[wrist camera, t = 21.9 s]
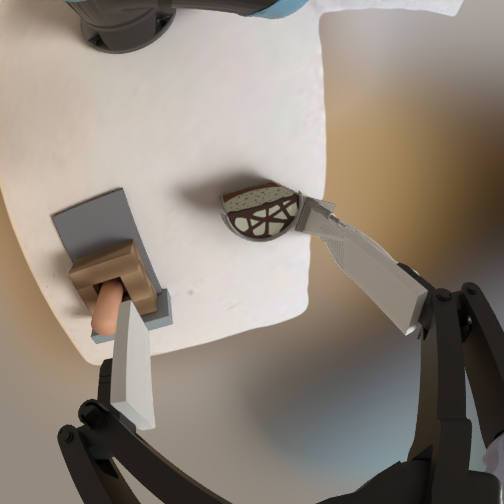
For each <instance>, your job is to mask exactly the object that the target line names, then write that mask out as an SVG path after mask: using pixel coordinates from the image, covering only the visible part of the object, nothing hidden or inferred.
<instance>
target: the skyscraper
mask: <svg viewBox="0 0 504 504" xmlns="http://www.w3.org/2000/svg"><path fill="white" fill-rule="evenodd" d="M335 206H336V205H335V204H333V203H330V202H326V201H323V200H318V199H314V198H311V197H307V198H306V201H305V204H304V207H303V210H302V213H301V216H300V218H299V221H298V224H297V227H296V231H302V232H307V233H312V234H314V235H316V236H318V237H319V238H320V239H322V240H323V241H324V242H325V244H326V246H327V248H328V250H329V252H330V254H331V256H332V258H333V260H334V261H335V263H336V264H337V265H338V267H339V268H340V269H341V270H342V271H343V264H344V235H345V234H348V233H352V232H355V233H356V234H358V235H359V236H360V237H362V238H363V239H364V240H366V241H367V242H368V243H370V244H371V245H372V246H374V247H375V248H376V249H377V250H379V251H380V252H381V253H383V254H384V255H385V256H386V257H388V258H389V259H390V260H392V261H393V262H394V263H395V264H397V263H399V262H397V261H395V260H393V258H392V257H391V256H390V255H389V254H388V253H387V252H386V251H385V250H384V249H383V248H382V247H381V246H380V245H379V244H377V243H376V242H375V241H374V240H372V239H371V238H370V237H368V236H367V235H365V234H364V233H363V232H361V231H359V230H358V229H356V228H355V227H353V226H351V225H349V224H347V223H345V222H343V221H341V220H339V219H337V218H336V217H335V214H334V213H333V211H334V209H335ZM412 270H413V269H412ZM413 271H414V272H416V273H417V271H415V270H413ZM343 272H344V271H343ZM344 273H345V272H344ZM345 274H346V273H345ZM417 274H418V273H417ZM346 275H347V274H346ZM418 275H419V274H418ZM347 276H348V275H347Z"/></svg>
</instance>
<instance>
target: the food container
mask: <svg viewBox="0 0 504 504" xmlns="http://www.w3.org/2000/svg"><path fill="white" fill-rule="evenodd" d="M221 199H222V203H223V207H224V210H225V214H226V215H224V214H222V213H220V214H221V216H222V219H223V221H224V223H225V224H226V226H227V227H228V228H229V229H230V230H231V231H232V232H233V233H235V234H236V235H238V236H239V237H241V238H243V239H245V240H248V241H253V242H267V241H271V240H274V239H276V238H278V237H280V236H282V235H283V234H285V233H286V232H287V231H288V230H290V229H291V228H292V226H293V225H294V224H295V222H296V221H297V219H298V217H299V215H300V212H301V208H302V202H303V198H302V193H301V192H300V191H299V193H297V192H295V191H293V190H291V189H289V188H287V187H285V186H282V185H280V184H278V183H276V182H274V181H268V182H264V183H261V184H257V185H253V186H249V187H246V188H242V189H238V190H235V191H231V192H228V193H224V194H221Z"/></svg>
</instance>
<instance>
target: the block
mask: <svg viewBox="0 0 504 504" xmlns="http://www.w3.org/2000/svg"><path fill="white" fill-rule="evenodd" d="M68 275H69V277H70V279H71V280H72V282H73V284H74V286H75V288H76V289H77V291H78V293H79V294H80V296H81V298H82V299H83V301H84V303H85V304H86V306H87V308H88V309H89V311H90V312H91V314H92V316H93V313H94V310H95V306H96V303H97V299H98V296H99V293H100V290H101V286H102V283H103V282H104V281H107V280H110V279H113V278H116V277H121V279H122V281H123V283H124V290H123V295H122V300H121V303H122V302H125V301H128V300H132V302H133V304H134V306H135V308H136V310H137V311H138V313H139V315H140V316H142V315H145V314H149V313H152V312H156V311H157V293H156V291H155V289H154V287H153V284H152V282H151V280H150V278H149V276H148V273H147V271H146V269H145V266H144V264H143V262H142V259H141V257H140V254H139V252H138V250H137V247H136V245H135V242H134V240H130V241H127V242H124V243H121V244H118V245H115V246H112V247H110V248H107V249H104V250H101V251H98V252H95V253H92V254H90V255H87V256H84V257H81V258H78V259H76V260H75V262H74V264H73V266H72V268H71V270H70V272H69V274H68Z"/></svg>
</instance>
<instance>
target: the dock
mask: <svg viewBox="0 0 504 504" xmlns="http://www.w3.org/2000/svg"><path fill="white" fill-rule="evenodd" d="M52 219H53V221H54V223H55V226H56V228H57V230H58V233H59V235H60V237H61V239H62V241H63V244H64V246H65V248H66V250H67V252H68V254H69V256H70V258H71V260H72V262H73V264H74V262H75V260H76V259H78V258H81V257H84V256H87V255H90V254H92V253H95V252H98V251H101V250H104V249H107V248H110V247H112V246H115V245H118V244H121V243H124V242H127V241H130V240H134V242H135V245H136V247H137V250H138V252H139V254H140V257H141V259H142V262H143V264H144V266H145V269H146V271H147V273H148V276H149V278H150V280H151V282H152V284H153V287H154V289H155V291H156V293H157V311H156V312H152V313H149V314H145V315H142V316H140V317H141V319H142V321H143V322H144V324H145V326H146V328H147V329H148V331H149V330H153V329H157V328H160V327H164V326H167V325H171V324H173V321H172V310H171V298H170V295H169V292H168V290H167V289H165V290H162V289H161V286H160V284H159V282H158V280H157V277H156V275H155V273H154V270H153V268H152V265H151V263H150V261H149V258H148V256H147V253H146V251H145V248H144V246H143V243H142V241H141V238H140V235H139V233H138V230H137V227H136V225H135V222H134V219H133V216H132V214H131V211H130V208H129V205H128V202H127V199H126V196H125V193H124V190H123V188H122V189H119V190H116V191H113V192H111V193H108V194H105V195H103V196H100V197H97V198H95V199H92V200H90V201H87V202H85V203H82V204H80V205H77V206H75V207H73V208H70V209H68V210H66V211H63V212H61V213H59V214H57V215H54V216H53V217H52ZM91 338H92V339H93V341H94V342H95V343H96V344H99V343H103V342H107V341H111V340H115V333H114V334H113V335H110V336H103V335H100V334H98V333H96V332H95V331H94V330H93V329H92V334H91Z"/></svg>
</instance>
